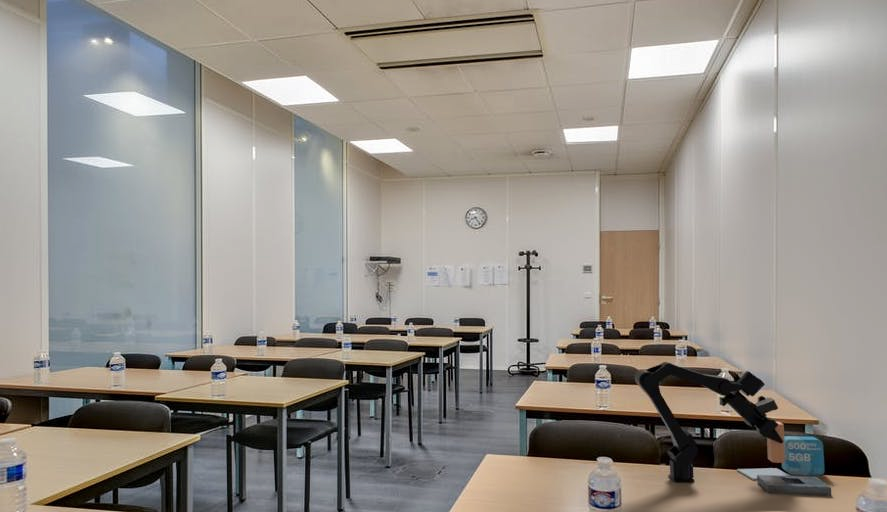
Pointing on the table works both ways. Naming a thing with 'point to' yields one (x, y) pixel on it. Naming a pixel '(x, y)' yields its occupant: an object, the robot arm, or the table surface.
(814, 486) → the grey base plate
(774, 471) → the pad
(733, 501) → the table surface
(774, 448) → the peg
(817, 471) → the data package
